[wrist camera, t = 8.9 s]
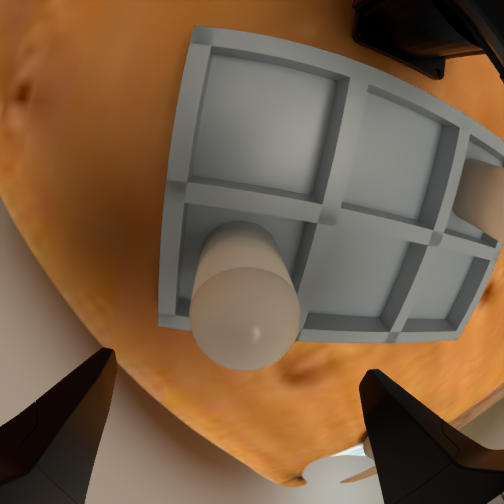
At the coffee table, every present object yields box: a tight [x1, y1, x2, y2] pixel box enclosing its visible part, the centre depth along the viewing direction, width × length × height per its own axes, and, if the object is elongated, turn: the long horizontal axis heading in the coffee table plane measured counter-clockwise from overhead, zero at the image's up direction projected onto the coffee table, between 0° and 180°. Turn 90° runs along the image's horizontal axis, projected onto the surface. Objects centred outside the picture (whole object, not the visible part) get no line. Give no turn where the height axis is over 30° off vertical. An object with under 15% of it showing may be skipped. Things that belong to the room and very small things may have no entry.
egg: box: [189, 221, 301, 371], centre depth 13 cm, size 5×5×8 cm
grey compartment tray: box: [158, 26, 504, 343], centre depth 16 cm, size 24×16×2 cm
